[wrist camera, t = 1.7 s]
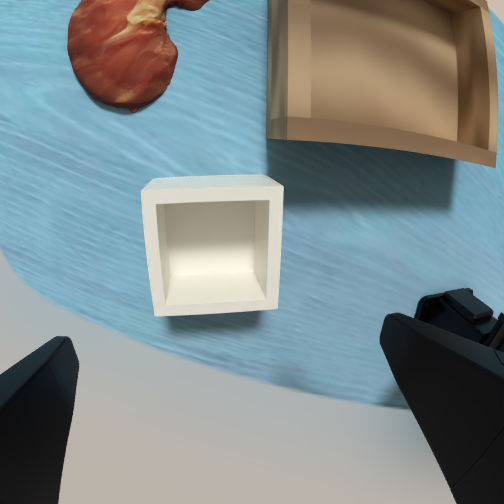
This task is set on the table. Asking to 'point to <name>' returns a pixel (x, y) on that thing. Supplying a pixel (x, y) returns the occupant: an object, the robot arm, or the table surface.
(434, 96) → the walnut crate
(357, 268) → the table surface
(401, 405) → the table surface
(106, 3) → the steak
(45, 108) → the table surface
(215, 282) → the cream crate
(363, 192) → the table surface
